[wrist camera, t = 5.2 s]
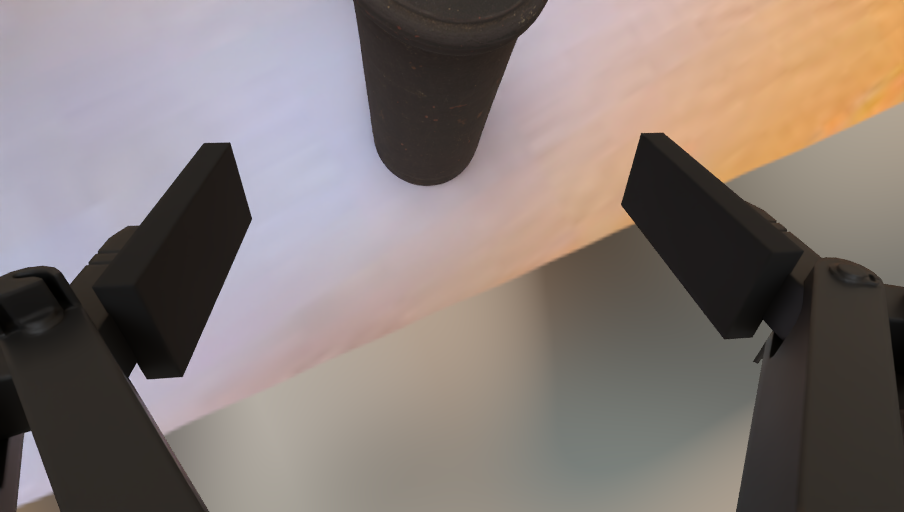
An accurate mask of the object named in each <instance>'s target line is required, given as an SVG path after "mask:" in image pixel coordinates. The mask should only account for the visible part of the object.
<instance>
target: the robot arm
mask: <svg viewBox="0 0 904 512" xmlns="http://www.w3.org/2000/svg"><path fill="white" fill-rule="evenodd" d="M621 205H622V207H623V208H624V209H625V211H626V212H627V213H628V215H629V216H630V217H631V218H632V220H633V221H634V222H635V224H636V225H637V226H638V228H639V229H640V230H641V232H642V233H643V234H644V235H645V237H646V238H647V239H648V241H649V242H650V243H651V244H652V246H653V247H654V248H655V250H656V251H657V252H658V254H659V255H660V256H661V258H662V259H663V260H664V261H665V263H666V264H667V265H668V267H669V268H670V269H671V270H672V272H673V273H674V275H675V276H676V277H677V278H678V279H679V281H680V282H681V284H682V285H683V286H684V288H685V289H686V290H687V291H688V293H689V294H690V295H691V297H692V298H693V299H694V301H695V302H696V303H697V304H698V306H699V307H700V308H701V310H702V311H703V312H704V314H705V315H706V316H707V318H708V319H709V320H710V321H711V323H712V324H713V325H714V327H715V328H716V329H717V331H718V332H719V333H720V334H721V336H722V337H723V338H724V339H736V338H750V337H753V335H754V334H755V332H756V330H757V329H758V327H759V325H760V324H761V322H762V320H764V321H765V322H766V323H767V324H768V326H769V327H770V328H771V329H772V330H773V331H772V333H771V334H770V336H769V337H768V339H767V340H766V342H765V344H764V345H763V347H762V348H761V350H760V352H759V353H758V355H757V356H756V358H755V359H754V361H753V362H756V363H759V361H760V360H761V359H763V361H762V367H761V373H760V378H759V384H758V390H757V395H756V401H755V407H754V412H753V418H752V424H751V429H750V435H749V441H748V447H747V453H746V458H745V464H744V470H743V475H742V481H741V487H740V492H739V498H738V504H737V509H736V512H904V287H901V286H894V285H888V284H883V282H882V280H881V278H879V277H878V276H877V275H876V274H875V273H874V272H872V271H871V270H869V269H867V268H865V267H864V266H862V265H859V264H856V263H854V262H851V261H848V260H844V259H839V258H827V257H826V258H821V257H820V256H819V255H818V254H816V253H815V252H814V251H813V250H812V249H810V248H809V247H808V246H807V245H805V244H804V243H803V242H802V241H801V240H799V239H798V238H797V237H796V236H794V235H793V234H792V233H791V232H787V229H786V228H785V227H784V226H782V225H781V224H780V223H776V220H775V219H774V218H773V217H771V216H770V215H769V214H768V213H766V212H765V211H764V210H762V209H760V208H758V207H756V206H754V205H752V204H750V203H748V202H746V201H744V200H743V199H742V198H740V197H739V196H738V195H737V194H736V193H734V192H733V191H732V190H731V189H729V188H728V187H727V186H726V185H725V184H724V183H722V182H721V181H720V180H719V179H718V178H716V177H715V176H714V175H713V174H712V173H711V172H709V171H708V170H707V169H706V168H705V167H703V166H702V165H701V164H700V163H699V162H697V161H696V160H695V159H694V158H693V157H691V156H690V155H689V154H688V153H687V152H685V151H684V150H683V149H682V148H681V147H679V146H678V145H677V144H676V143H675V142H674V141H672V140H671V139H670V138H669V137H668V136H666V135H665V134H664V133H641V136H640V139H639V143H638V146H637V150H636V154H635V157H634V161H633V164H632V168H631V171H630V175H629V178H628V182H627V185H626V189H625V193H624V196H623V200H622V203H621ZM251 220H252V217H251V214H250V210H249V207H248V203H247V200H246V196H245V193H244V189H243V186H242V182H241V179H240V175H239V172H238V168H237V165H236V161H235V158H234V154H233V151H232V147H231V144H230V143H204V144H203V145H202V146H201V147H200V149H199V150H198V151H197V153H196V154H195V155H194V156H193V158H192V159H191V160H190V162H189V163H188V164H187V165H186V167H185V168H184V169H183V171H182V172H181V173H180V174H179V176H178V177H177V178H176V180H175V181H174V182H173V183H172V185H171V186H170V187H169V189H168V190H167V191H166V192H165V194H164V195H163V196H162V197H161V199H160V200H159V201H158V203H157V204H156V205H155V206H154V208H153V209H152V210H151V212H150V213H149V214H148V215H147V217H146V218H145V219H144V221H143V222H142V223H141V224H140V226H127V227H125V228H124V229H122V230H121V231H119V232H118V233H116V234H115V235H113V236H112V237H110V238H109V239H108V240H107V241H106V242H105V244H104V245H103V246H102V247H101V248H100V249H99V251H98V254H95V255H94V257H93V258H92V259H91V260H90V261H89V265H86V266H85V267H84V268H83V270H82V271H81V272H80V273H79V274H78V276H77V277H76V278H75V279H74V280H73V281H72V283H71V284H70V285H69V284H68V282H67V280H66V279H65V277H64V276H63V274H62V273H61V272H60V271H59V270H58V269H56V268H55V267H48V266H37V267H27V268H24V269H20V270H17V271H13V272H10V273H8V274H5V275H3V276H1V277H0V512H16V509H17V499H18V489H19V479H20V469H21V459H22V449H23V439H24V433H25V432H29V431H32V434H33V437H34V440H35V442H36V445H37V448H38V451H39V453H40V456H41V459H42V462H43V465H44V467H45V470H46V473H47V476H48V478H49V481H50V484H51V487H52V489H53V492H54V495H55V498H56V500H57V503H58V506H59V508H60V512H209V511H208V509H207V507H206V506H205V504H204V502H203V501H202V499H201V497H200V496H199V494H198V492H197V491H196V489H195V487H194V486H193V484H192V482H191V481H190V479H189V477H188V476H187V474H186V472H185V471H184V469H183V467H182V466H181V464H180V462H179V461H178V459H177V457H176V456H175V454H174V452H173V451H172V449H171V447H170V446H169V444H168V442H167V441H166V439H165V437H164V436H163V434H162V432H161V431H160V429H159V427H158V426H157V424H156V422H155V421H154V419H153V417H152V416H151V414H150V412H149V411H148V409H147V407H146V406H145V404H144V402H143V401H142V399H141V397H140V396H139V394H138V392H137V391H136V389H135V387H134V386H133V384H132V383H131V381H130V379H129V378H128V377H129V376H130V374H131V372H132V370H133V368H134V367H135V365H136V363H137V364H138V365H139V367H140V369H141V370H142V372H143V374H144V375H145V377H146V379H160V378H174V377H183V375H184V373H185V371H186V368H187V366H188V364H189V361H190V359H191V357H192V355H193V352H194V350H195V348H196V345H197V343H198V341H199V339H200V336H201V334H202V332H203V330H204V327H205V325H206V323H207V320H208V318H209V316H210V314H211V311H212V309H213V307H214V304H215V302H216V300H217V298H218V295H219V293H220V291H221V289H222V286H223V284H224V282H225V279H226V277H227V275H228V273H229V270H230V268H231V266H232V264H233V261H234V259H235V257H236V254H237V252H238V250H239V248H240V245H241V243H242V241H243V238H244V236H245V234H246V232H247V229H248V227H249V225H250V223H251Z"/></svg>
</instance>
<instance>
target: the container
mask: <svg viewBox="0 0 904 512" xmlns="http://www.w3.org/2000/svg"><path fill="white" fill-rule="evenodd" d="M353 1H354V6H355V13H356V18H357V25H358V31H359V37H360V44H361V53H362V60H363V68H364V75H365V81H366V87H367V95H368V102H369V109H370V116H371V124H372V132H373V136H374V142H375V146H376V149H377V152H378V154H379V156H380V158H381V160H382V161H383V163H384V164H385V166H386V167H387V168H388V169H389V170H390V171H391V172H392V173H393V174H395V175H396V176H397V177H399V178H401V179H403V180H404V181H407V182H409V183H412V184H416V185H423V186H430V185H438V184H442V183H445V182H447V181H449V180H451V179H453V178H455V177H456V176H457V175H459V174H460V173H461V172H462V171H463V170H464V169H465V168H466V167H467V165H468V164H469V163H470V161H471V159H472V157H473V155H474V153H475V151H476V148H477V146H478V143H479V140H480V137H481V134H482V131H483V128H484V125H485V122H486V120H487V117H488V114H489V111H490V109H491V106H492V103H493V100H494V98H495V95H496V92H497V90H498V87H499V85H500V82H501V80H502V77H503V74H504V72H505V69H506V66H507V64H508V61H509V59H510V56H511V53H512V51H513V48H514V46H515V43H516V41H517V38H518V37H519V36H520V35H521V34H523V33H524V32H525V31H526V30H527V29H528V28H529V27H530V26H531V25H532V24H533V23H534V22H535V20H536V19H537V17H538V16H539V15H540V13H541V11H542V10H543V8H544V7H545V5H546V3H547V1H548V0H353Z"/></svg>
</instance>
